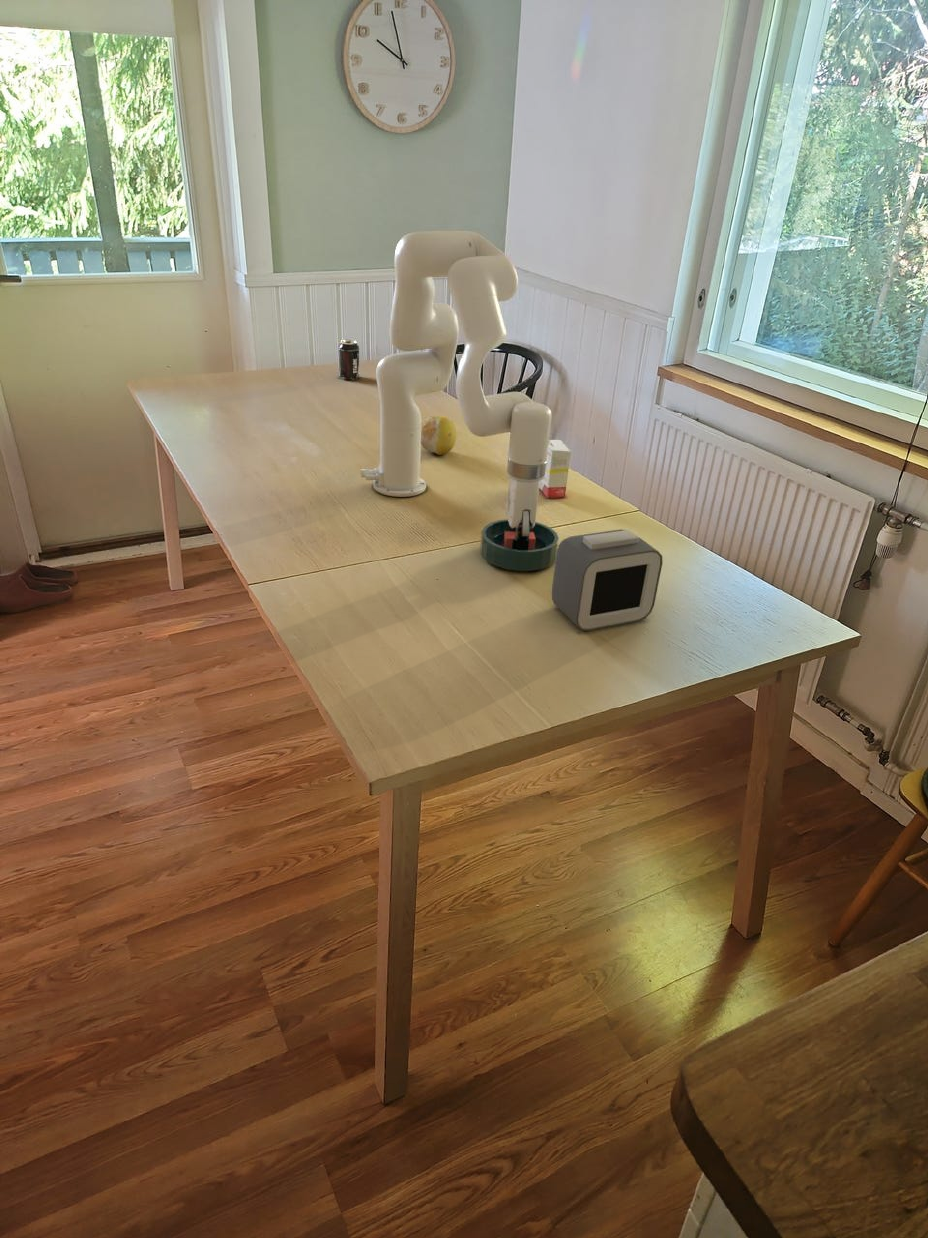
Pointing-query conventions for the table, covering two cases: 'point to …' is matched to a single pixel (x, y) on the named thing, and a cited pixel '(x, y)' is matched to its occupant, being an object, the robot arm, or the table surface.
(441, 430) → the fruit
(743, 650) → the table surface
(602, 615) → the alarm clock
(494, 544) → the bowl
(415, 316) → the robot arm
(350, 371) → the beverage can
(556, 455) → the ink box
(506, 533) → the eraser
